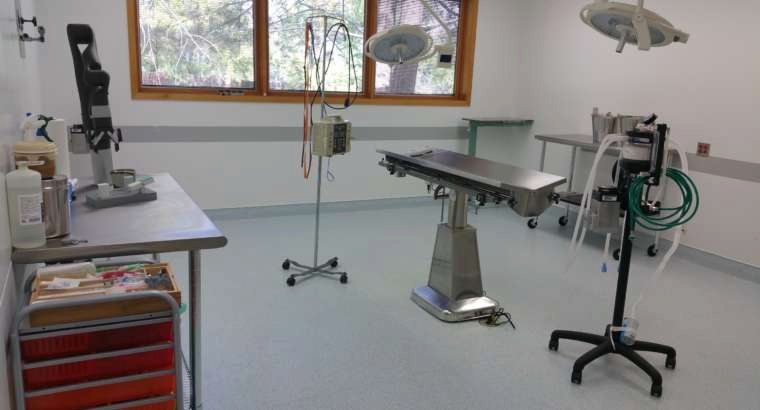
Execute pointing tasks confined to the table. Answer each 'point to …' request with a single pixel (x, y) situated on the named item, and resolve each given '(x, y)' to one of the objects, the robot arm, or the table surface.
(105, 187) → the white slider
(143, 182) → the rocker
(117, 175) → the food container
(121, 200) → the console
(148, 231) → the table surface
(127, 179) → the grey slider
